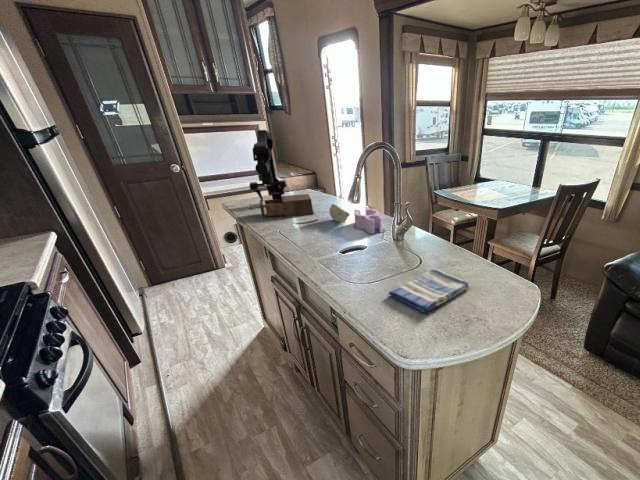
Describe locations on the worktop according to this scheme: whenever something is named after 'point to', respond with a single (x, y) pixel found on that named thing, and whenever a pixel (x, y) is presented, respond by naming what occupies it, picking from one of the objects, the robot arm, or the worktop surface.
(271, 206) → the drawer
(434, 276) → the dish towel
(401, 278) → the worktop surface
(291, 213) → the cabinet
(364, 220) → the clip
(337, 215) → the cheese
